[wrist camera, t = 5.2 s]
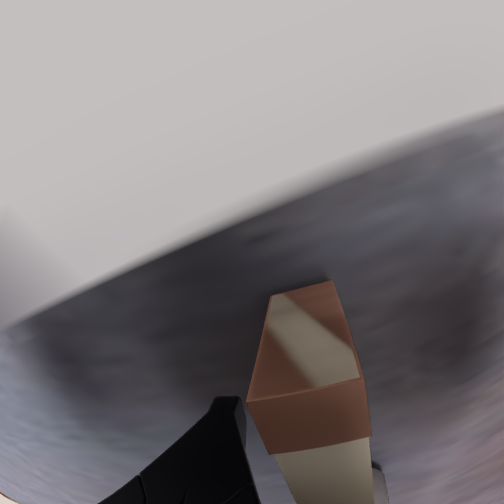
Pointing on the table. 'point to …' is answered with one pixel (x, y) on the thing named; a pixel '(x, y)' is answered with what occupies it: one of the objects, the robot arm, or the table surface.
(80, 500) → the table surface
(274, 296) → the cream brown-tipped bar
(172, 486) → the robot arm
